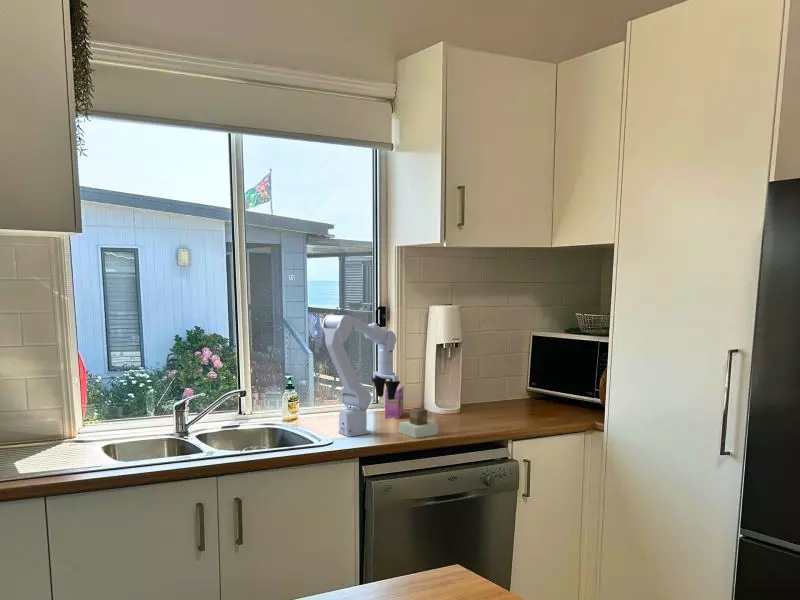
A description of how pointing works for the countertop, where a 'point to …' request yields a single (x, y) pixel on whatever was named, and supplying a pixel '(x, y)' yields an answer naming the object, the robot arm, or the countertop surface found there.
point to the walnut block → (418, 416)
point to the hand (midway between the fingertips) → (385, 397)
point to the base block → (418, 429)
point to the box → (394, 404)
